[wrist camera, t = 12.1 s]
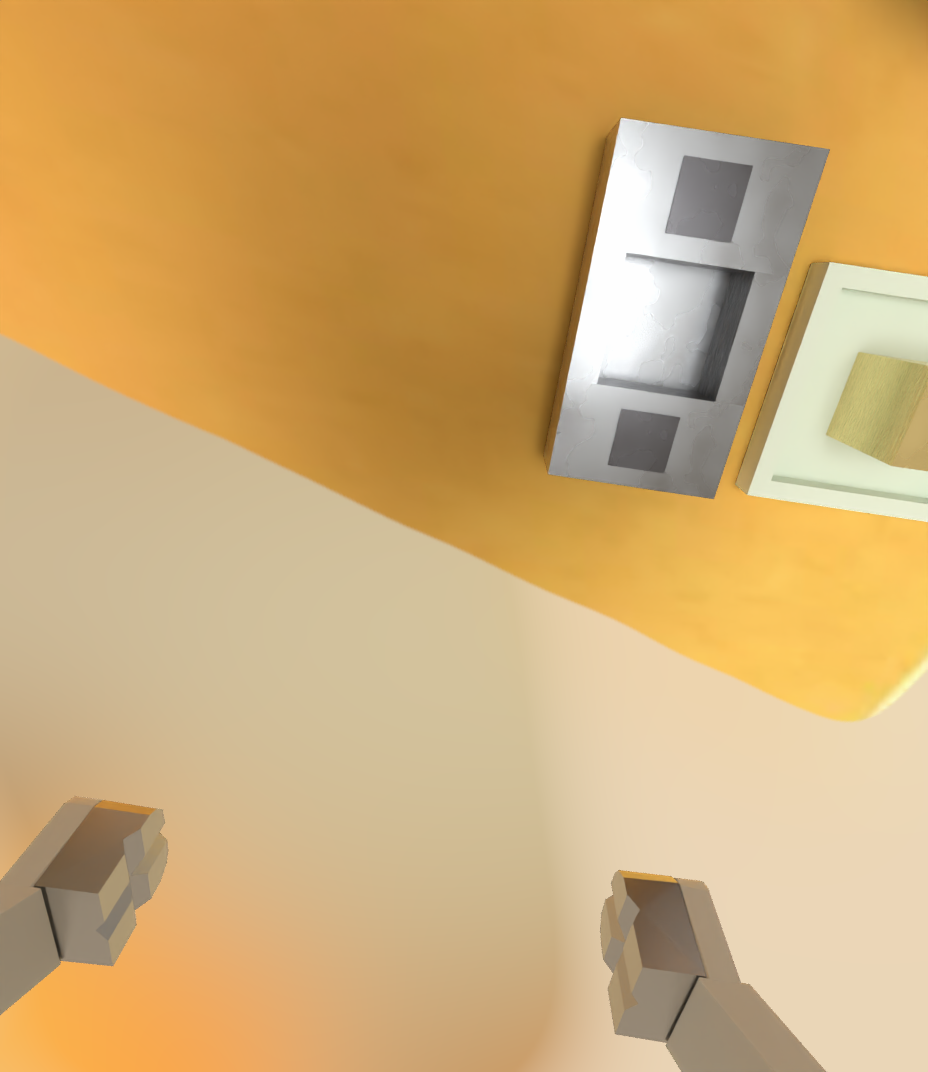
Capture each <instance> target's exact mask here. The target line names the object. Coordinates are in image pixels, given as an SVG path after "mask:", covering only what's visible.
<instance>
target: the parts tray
mask: <svg viewBox="0 0 928 1072" xmlns="http://www.w3.org/2000/svg"><path fill="white" fill-rule="evenodd" d="M858 352H863V353H870V354H876V355H883V356H890V357H896V358H903V359H910V360H916V361H923V362H928V277H925V276H919V275H912V274H906V273H899V272H892V271H886V270H879V269H872V268H866V267H859V266H853V265H846V264H839V263H833V262H823V263H811V266H810V269H809V271H808V274H807V277H806V280H805V283H804V286H803V289H802V292H801V295H800V298H799V301H798V303H797V306H796V309H795V312H794V315H793V318H792V321H791V324H790V327H789V330H788V332H787V335H786V338H785V341H784V344H783V347H782V350H781V353H780V356H779V359H778V362H777V364H776V367H775V370H774V373H773V376H772V379H771V382H770V385H769V388H768V391H767V393H766V396H765V399H764V402H763V405H762V408H761V411H760V414H759V417H758V420H757V423H756V425H755V428H754V431H753V434H752V437H751V440H750V443H749V446H748V449H747V452H746V454H745V457H744V460H743V463H742V466H741V469H740V472H739V475H738V478H737V481H736V484H735V485H736V486H738V487H739V488H740V489H741V490H742V491H743V492H744V493H746V494H747V495H751V496H758V497H765V498H771V499H778V500H785V501H791V502H798V503H805V504H811V505H818V506H825V507H832V508H838V509H845V510H852V511H858V512H865V513H872V514H878V515H885V516H892V517H898V518H905V519H912V520H918V521H925V522H928V471H921V470H915V469H908V468H901V467H895V466H890V465H888V464H886V463H884V462H882V461H880V460H878V459H875V458H873V457H871V456H869V455H867V454H865V453H863V452H861V451H859V450H857V449H854V448H852V447H850V446H848V445H846V444H844V443H842V442H840V441H838V440H835V439H833V438H831V437H829V436H827V435H826V433H827V430H828V428H829V425H830V423H831V420H832V418H833V415H834V412H835V410H836V407H837V405H838V402H839V400H840V397H841V395H842V392H843V390H844V387H845V385H846V382H847V380H848V377H849V375H850V372H851V370H852V367H853V365H854V362H855V359H856V357H857V354H858Z"/></svg>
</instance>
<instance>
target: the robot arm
mask: <svg viewBox="0 0 928 1072" xmlns="http://www.w3.org/2000/svg"><path fill="white" fill-rule="evenodd" d="M164 824H165V820H164V814H163V810H162V809H156V808H149V807H143V806H136V805H131V804H124V803H118V802H112V801H106V800H100V799H92V798H86V797H79V796H75V797H73V798H72V799H70V800H69V801H67V802H66V803H64V804H63V806H62V807H61V808H60V809H59V810H58V812H57V813H56V814H55V816H53V818H52V819H51V820H50V821H49V823H48V824H47V825H46V826H45V827H44V829H43V830H42V831H41V832H40V833H39V835H38V836H37V837H36V838H35V839H34V841H33V842H32V843H31V844H30V845H29V847H28V848H27V849H26V851H25V852H24V853H23V854H22V855H21V856H20V857H19V859H18V860H17V861H16V862H15V864H14V865H13V866H12V867H11V868H10V870H9V871H8V872H7V873H6V874H5V876H4V877H3V878H2V879H1V880H0V1015H1V1014H2V1013H3V1012H4V1011H5V1010H7V1009H8V1008H9V1007H10V1006H11V1005H13V1004H14V1003H15V1002H16V1001H17V1000H19V999H20V998H21V997H22V996H23V995H25V994H26V993H27V992H28V991H29V990H31V989H32V988H33V987H34V986H35V985H37V984H38V983H39V982H40V981H41V980H43V979H44V978H45V977H46V976H47V975H48V974H50V973H51V972H52V971H53V970H54V969H56V968H57V967H58V966H59V965H60V963H61V962H60V961H69V962H79V963H88V964H97V965H107V966H113V965H114V964H115V962H116V960H117V958H118V957H119V955H120V953H121V951H122V949H123V948H124V946H125V944H126V942H127V940H128V939H129V937H130V935H131V933H132V932H133V930H134V928H135V926H136V916H135V910H136V909H137V908H139V907H140V906H141V905H143V904H144V903H146V902H147V901H148V900H150V899H151V898H152V896H153V894H154V892H155V890H156V888H157V887H158V885H159V883H160V881H161V877H162V875H163V872H164V869H165V866H166V863H167V855H168V843H167V840H166V838H165V837H164V836H162V834H161V833H160V830H161V828H162V827H163V825H164ZM611 885H612V891H613V895H612V896H611V897H609V898H608V899H606V900H605V903H604V906H603V910H602V914H601V927H600V933H601V946H602V954H603V960H604V961H605V963H606V964H607V965H608V967H609V968H610V969H611V971H612V972H613V976H612V978H611V981H610V984H609V986H608V992H609V1000H610V1006H611V1012H612V1018H613V1024H614V1030H615V1034H617V1035H623V1036H629V1037H635V1038H641V1039H648V1040H654V1041H660V1042H666V1043H667V1044H666V1047H667V1049H668V1050H669V1052H670V1053H671V1055H672V1057H673V1059H674V1060H675V1062H676V1063H677V1065H678V1067H679V1068H680V1070H681V1072H826V1071H825V1070H824V1069H823V1068H822V1066H821V1065H820V1064H819V1063H818V1062H817V1061H816V1060H815V1058H814V1057H813V1056H812V1055H811V1054H810V1053H809V1051H808V1050H807V1049H806V1048H805V1047H804V1046H803V1045H802V1043H801V1042H800V1041H799V1040H798V1039H797V1038H796V1037H795V1035H794V1034H793V1033H792V1032H791V1031H790V1030H789V1029H788V1027H787V1026H786V1025H785V1024H784V1023H783V1022H782V1021H781V1020H780V1018H779V1017H778V1016H777V1015H776V1014H775V1013H774V1012H773V1010H772V1009H771V1008H770V1007H769V1006H768V1005H767V1004H766V1002H765V1001H764V1000H763V999H762V998H761V997H760V995H759V994H758V993H757V992H756V991H755V990H754V989H753V987H752V986H751V985H750V984H745V983H741V982H740V979H739V976H738V973H737V970H736V967H735V964H734V961H733V959H732V956H731V953H730V950H729V947H728V944H727V941H726V938H725V936H724V933H723V930H722V927H721V924H720V921H719V919H718V916H717V913H716V910H715V907H714V904H713V901H712V899H711V896H710V893H709V890H708V888H707V886H706V885H705V884H704V882H702V881H697V880H688V879H680V878H673V877H671V876H663V875H655V874H647V873H638V872H630V871H621V870H618V871H617V872H616V873H615V874H614V877H613V880H612V882H611Z"/></svg>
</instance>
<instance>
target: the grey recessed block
mask: <svg viewBox="0 0 928 1072" xmlns="http://www.w3.org/2000/svg"><path fill="white" fill-rule="evenodd" d="M829 151H830V149H824V148H817V147H810V146H804V145H797V144H791V143H784V142H777V141H771V140H764V139H758V138H751V137H744V136H738V135H731V134H725V133H718V132H711V131H705V130H698V129H692V128H685V127H678V126H672V125H665V124H659V123H652V122H645V121H639V120H632V119H626V118H620V120H619V121H618V122H617V124H616V125H615V127H614V128H613V129H612V131H611V132H610V133H609V135H608V136H607V139H606V144H605V149H604V154H603V159H602V164H601V169H600V174H599V179H598V184H597V189H596V194H595V199H594V204H593V209H592V214H591V219H590V224H589V229H588V234H587V239H586V244H585V249H584V254H583V259H582V264H581V269H580V274H579V279H578V284H577V289H576V294H575V299H574V304H573V309H572V315H571V320H570V325H569V330H568V335H567V340H566V345H565V350H564V355H563V360H562V365H561V370H560V375H559V380H558V385H557V390H556V395H555V400H554V405H553V410H552V415H551V420H550V425H549V430H548V435H547V440H546V445H545V450H544V455H543V456H544V460H545V464H546V468H547V472H548V474H550V475H557V476H563V477H570V478H577V479H583V480H590V481H597V482H604V483H610V484H617V485H624V486H630V487H637V488H644V489H650V490H657V491H664V492H670V493H677V494H684V495H691V496H697V497H704V498H711V499H714V497H715V494H716V491H717V488H718V485H719V482H720V479H721V476H722V473H723V470H724V467H725V464H726V461H727V458H728V455H729V452H730V449H731V446H732V443H733V440H734V437H735V434H736V431H737V428H738V425H739V422H740V419H741V416H742V413H743V410H744V407H745V404H746V401H747V398H748V395H749V392H750V389H751V386H752V383H753V380H754V377H755V373H756V370H757V367H758V364H759V361H760V358H761V355H762V352H763V349H764V346H765V343H766V340H767V337H768V334H769V331H770V328H771V325H772V322H773V319H774V316H775V313H776V310H777V307H778V304H779V301H780V298H781V295H782V292H783V289H784V286H785V283H786V280H787V277H788V274H789V271H790V268H791V265H792V262H793V259H794V256H795V253H796V250H797V247H798V244H799V241H800V238H801V235H802V232H803V229H804V226H805V223H806V220H807V217H808V214H809V211H810V208H811V205H812V202H813V199H814V196H815V193H816V190H817V187H818V184H819V181H820V178H821V175H822V172H823V169H824V166H825V163H826V160H827V157H828V154H829Z"/></svg>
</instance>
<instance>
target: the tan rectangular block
mask: <svg viewBox="0 0 928 1072" xmlns="http://www.w3.org/2000/svg"><path fill="white" fill-rule="evenodd" d="M826 435H827V436H829V437H831V438H833V439H835V440H838V441H840V442H842V443H844V444H846V445H848V446H850V447H852V448H854V449H857V450H859V451H861V452H863V453H865V454H867V455H869V456H871V457H873V458H875V459H878V460H880V461H882V462H884V463H886V464H888V465H890V466H895V467H901V468H908V469H915V470H921V471H928V362H923V361H916V360H910V359H903V358H896V357H890V356H883V355H876V354H870V353H863V352H858V354H857V357H856V359H855V362H854V365H853V367H852V370H851V372H850V375H849V377H848V380H847V382H846V385H845V387H844V390H843V392H842V395H841V397H840V400H839V402H838V405H837V407H836V410H835V412H834V415H833V418H832V420H831V423H830V425H829V428H828V430H827V433H826Z"/></svg>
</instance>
